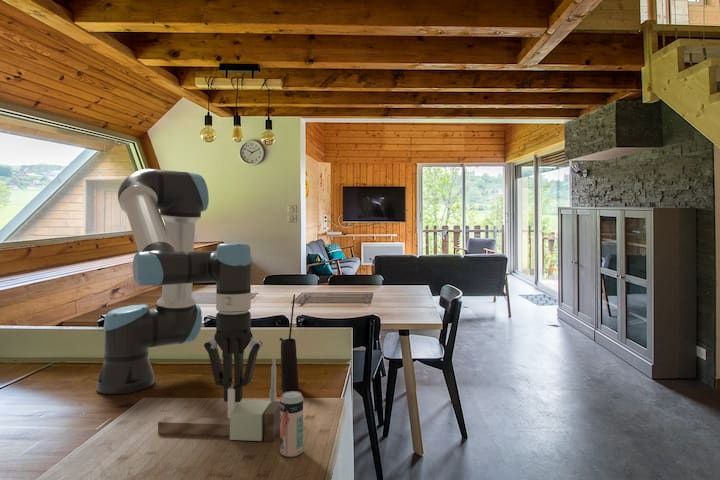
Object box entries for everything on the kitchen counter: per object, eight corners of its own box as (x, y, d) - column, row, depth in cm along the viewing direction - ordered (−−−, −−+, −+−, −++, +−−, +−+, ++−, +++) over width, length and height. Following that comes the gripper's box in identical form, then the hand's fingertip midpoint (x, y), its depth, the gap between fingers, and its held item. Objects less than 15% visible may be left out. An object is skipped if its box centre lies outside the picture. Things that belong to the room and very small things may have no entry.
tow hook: (268, 400, 119) (254, 413, 109) (269, 349, 119) (255, 357, 110) (300, 402, 117) (288, 415, 108) (301, 351, 118) (290, 359, 108)
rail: (153, 437, 95) (153, 410, 95) (169, 423, 102) (169, 398, 102) (273, 441, 93) (273, 414, 93) (281, 427, 100) (281, 401, 100)
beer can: (280, 447, 91) (281, 390, 91) (303, 446, 91) (304, 390, 91) (278, 459, 86) (278, 399, 86) (302, 458, 86) (303, 398, 86)
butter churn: (263, 390, 125) (263, 294, 125) (286, 381, 133) (286, 290, 133) (286, 397, 120) (286, 296, 120) (308, 387, 127) (309, 293, 127)
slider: (229, 439, 94) (229, 413, 94) (242, 424, 101) (242, 399, 101) (261, 440, 93) (261, 414, 93) (271, 425, 101) (271, 400, 101)
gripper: (198, 313, 94) (197, 421, 94) (256, 314, 93) (256, 423, 93) (212, 308, 102) (211, 408, 102) (266, 309, 101) (266, 410, 101)
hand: (233, 415), depth 98 cm, fingers closed
